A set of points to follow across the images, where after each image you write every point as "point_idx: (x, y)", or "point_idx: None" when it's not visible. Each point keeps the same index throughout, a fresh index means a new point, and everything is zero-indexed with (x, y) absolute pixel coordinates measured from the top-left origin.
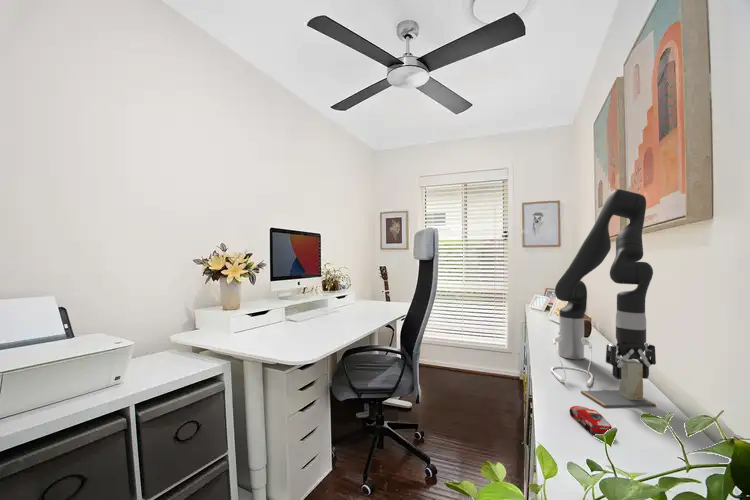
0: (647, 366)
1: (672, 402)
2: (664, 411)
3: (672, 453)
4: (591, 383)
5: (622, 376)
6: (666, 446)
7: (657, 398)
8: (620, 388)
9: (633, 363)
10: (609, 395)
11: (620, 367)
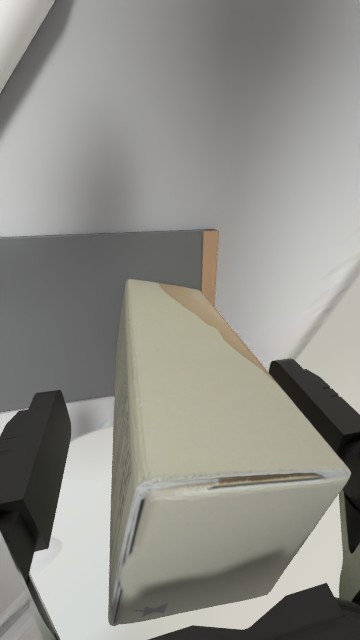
0: (341, 491)
1: (303, 339)
2: None
3: (35, 572)
4: (4, 79)
5: (118, 388)
6: (40, 557)
7: (284, 306)
8: (123, 307)
9: (183, 610)
10: (43, 311)
11: (42, 543)
